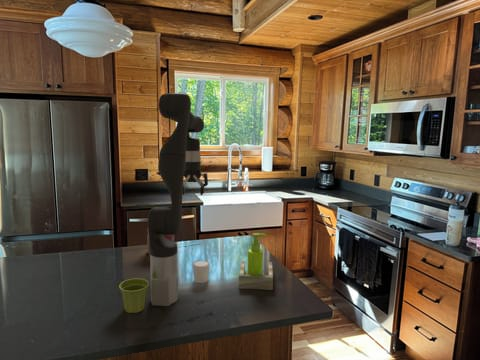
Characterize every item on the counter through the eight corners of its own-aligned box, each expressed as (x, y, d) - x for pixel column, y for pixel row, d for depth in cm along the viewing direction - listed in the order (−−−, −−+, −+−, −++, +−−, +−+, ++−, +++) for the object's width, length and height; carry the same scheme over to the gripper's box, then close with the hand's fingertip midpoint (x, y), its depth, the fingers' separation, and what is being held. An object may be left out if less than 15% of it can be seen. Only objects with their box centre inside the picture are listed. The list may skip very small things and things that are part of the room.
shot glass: (189, 281, 133) (189, 264, 132) (199, 275, 139) (199, 258, 138) (203, 285, 130) (203, 268, 129) (213, 278, 136) (213, 262, 135)
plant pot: (138, 298, 118) (138, 275, 117) (155, 308, 113) (154, 283, 111) (114, 309, 111) (113, 284, 110) (130, 319, 105) (129, 293, 104)
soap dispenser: (265, 285, 131) (266, 236, 128) (247, 285, 131) (248, 235, 128) (264, 279, 136) (265, 231, 134) (247, 278, 137) (248, 231, 134)
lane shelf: (272, 289, 127) (273, 277, 127) (238, 288, 128) (238, 275, 127) (271, 270, 145) (271, 259, 144) (241, 269, 145) (241, 258, 145)
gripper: (175, 160, 153) (175, 195, 155) (206, 161, 152) (206, 196, 154) (179, 159, 160) (179, 193, 163) (208, 160, 160) (208, 193, 162)
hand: (192, 194), depth 158 cm, fingers open, 8 cm apart
